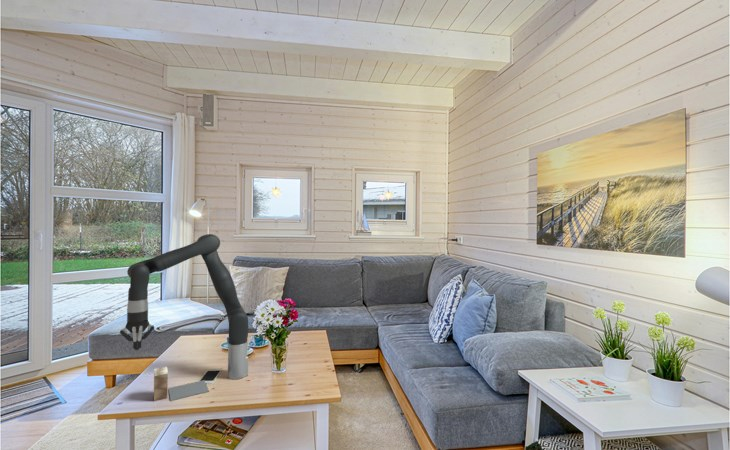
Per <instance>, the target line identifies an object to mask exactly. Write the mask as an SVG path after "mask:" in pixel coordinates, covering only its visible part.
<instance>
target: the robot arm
mask: <svg viewBox="0 0 730 450" xmlns="http://www.w3.org/2000/svg"><path fill="white" fill-rule="evenodd" d="M220 246H221V240H220V238H219V236H217V235H216V234H211V233H207V234H203V235H201V236H199V237H198V238H197V240H196V241H194V242H192V243H190V244H188V245H185V246H181V247H179V248H176V249H173V250H170V251H166V252H164V253H161V254H159V255H157V256H154V257H152V258H148V259H144V260H141V261H138V262H135V263H133V264H131V265H130V266H129V267H128V268H127V271H126V272H127V276H128V277H129V278H130V281H129V282H130V285H129V286H130V287H129V288H128V294H127V299H128V300H127V306H126V307H127V308H126V313H127V314H126V324H125V327H123V328H122V329H120V331H119V333H120V334H121V336H123V337H124V338H125V340H127V341H128V342H133V344H132V349H133V350H134V351H139V350H140V349H141V348H142V341H143V340H147V338H148V337H149V335H150V334H151V333H152V331H153V330H155V325H152V324H150V321H149V300H148V298H149V297H148V296H149V295H148V291H149V290H148V287H149V282H150V276H151V274H153V273H158V272H162V271H164V270H168V269H170V268H172V267H174V266H176V265H179V264H181V263H183V262H185V261H187V260H190V259H192V258H193V259H194V257H198V256H201V258H202V259H203V261H204V264H205V266H206V269H207V272H208V275H209V277H210V279H211V282H212V285H213V288H214V289H215V292H216V294H217V296H218V298H219V299H220V300H221V303H222V304H223V306H224V309H225V312H226V316H227V320H228V342H227V343H228V346H227V348H228V350H227V378H228V379H230V380H240V379H243V378H245V377H247V376H249V356H248V336H249V318H248V314H247V312H246V311H245V310H244V308H243V306H242V304H241V302H240V300H239V298H238V293H237V289H236V286H235V281H234V280H233V277H232V275H231V272H230V271H229V269H228V267H227V266H226V265H225V264H224V263H223V262H222V260H221V258H220V256H219V252H218V250H219V248H220ZM146 329H147V330H146ZM145 330H146V332H145ZM128 332H129V333H130V334H131V335H132V336H131V335H130V334H129V333H128ZM144 332H145V333H144ZM143 333H144V334H143ZM137 334H138V335H137Z"/></svg>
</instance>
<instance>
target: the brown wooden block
mask: <svg viewBox="0 0 730 450" xmlns="http://www.w3.org/2000/svg"><path fill="white" fill-rule="evenodd" d="M168 372H169V371H168V366H163V367H159V368H154V369H153V401H154V402H157V401H162V400H166V399H168V389H169V387H168V383H169V382H168V381H169V380H168V379H169V378H168V377H169V375H168Z"/></svg>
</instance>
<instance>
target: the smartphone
mask: <svg viewBox="0 0 730 450" xmlns="http://www.w3.org/2000/svg"><path fill="white" fill-rule="evenodd" d="M222 371H223V369H221V368H218V369H216V368H215V369H207V371H205V373H204V374H203V375H202V376H201V378H200V379H199V381H202V380H205V382H206V384H208V385H209V384H213V383H215V381H216V380H217V378H218V377H219V375H220V374H221V372H222Z"/></svg>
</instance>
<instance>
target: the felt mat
mask: <svg viewBox="0 0 730 450" xmlns="http://www.w3.org/2000/svg"><path fill="white" fill-rule="evenodd" d="M209 392H210V390H209V387H208V385H207V384H206V382H205V380H202V381H200V380H198V381H194V382H189V383H184V384H180V385H176V386H171V387H168V393H169V401H170V402H173V401H176V400H180V399H185V398H189V397H193V396H197V395H200V394H201V395H202V394H206V393H209Z"/></svg>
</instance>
